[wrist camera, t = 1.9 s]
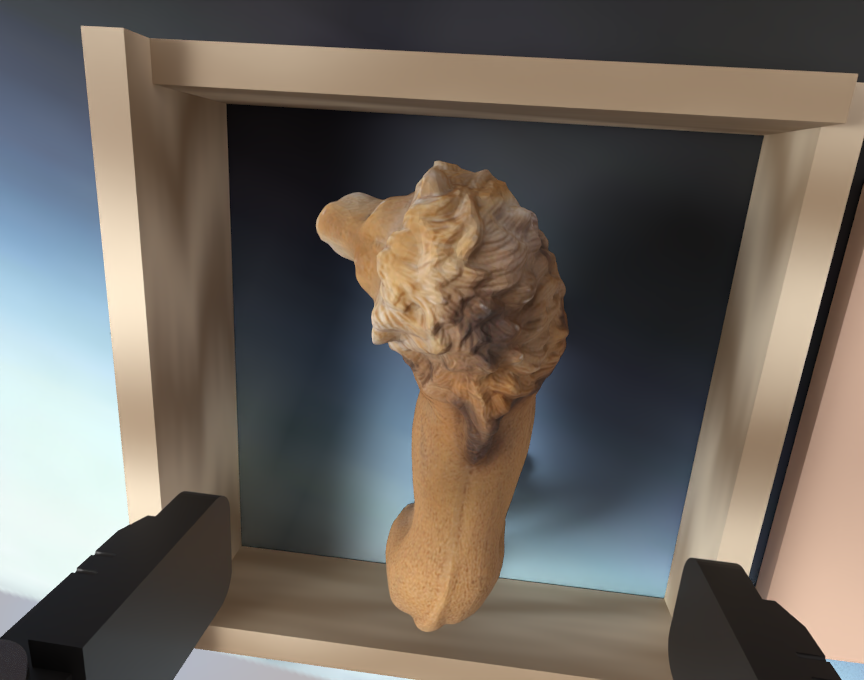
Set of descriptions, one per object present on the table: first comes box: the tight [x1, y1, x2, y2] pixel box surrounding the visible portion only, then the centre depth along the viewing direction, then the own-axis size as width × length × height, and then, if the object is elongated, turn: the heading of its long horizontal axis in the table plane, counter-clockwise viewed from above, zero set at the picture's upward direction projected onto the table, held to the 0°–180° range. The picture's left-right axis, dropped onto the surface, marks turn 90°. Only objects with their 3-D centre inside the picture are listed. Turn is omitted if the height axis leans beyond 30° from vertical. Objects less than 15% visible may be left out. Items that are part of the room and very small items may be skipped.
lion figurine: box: [316, 161, 569, 632], centre depth 15 cm, size 15×5×9 cm, turn 3°
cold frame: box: [81, 26, 864, 680], centre depth 17 cm, size 18×18×5 cm
